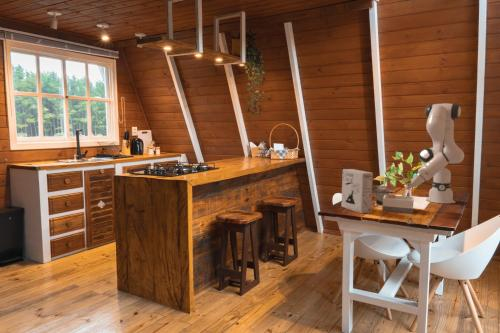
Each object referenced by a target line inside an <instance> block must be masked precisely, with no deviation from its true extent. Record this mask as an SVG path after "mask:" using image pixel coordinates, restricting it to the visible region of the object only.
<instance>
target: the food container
mask: <svg viewBox="0 0 500 333" xmlns="http://www.w3.org/2000/svg"><path fill="white" fill-rule="evenodd" d="M374 193H375V201H376V202H375V203H376V206H377V205H378V206H383V197H384V195H389V193H391V194H395V193H394V191H393V190H391V189H382V188H381V189H375V191H374Z"/></svg>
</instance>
